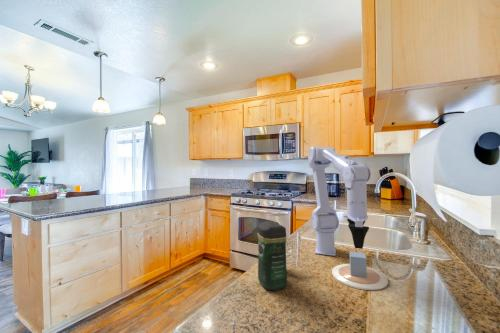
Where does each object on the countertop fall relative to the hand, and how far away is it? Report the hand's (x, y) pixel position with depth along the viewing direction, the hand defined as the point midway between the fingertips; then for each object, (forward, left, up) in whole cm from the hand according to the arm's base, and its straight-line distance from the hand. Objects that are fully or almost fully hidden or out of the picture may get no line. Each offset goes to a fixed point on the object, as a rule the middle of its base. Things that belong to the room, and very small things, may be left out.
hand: (357, 244), depth 73 cm
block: (0, 0, -9) cm, 9 cm away
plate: (0, 0, -10) cm, 10 cm away
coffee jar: (+13, -25, -11) cm, 30 cm away
